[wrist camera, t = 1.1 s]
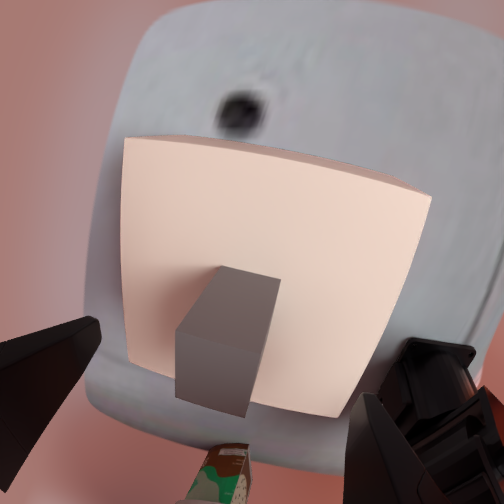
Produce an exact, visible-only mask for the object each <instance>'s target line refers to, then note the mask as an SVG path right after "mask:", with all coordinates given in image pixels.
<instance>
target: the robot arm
mask: <svg viewBox="0 0 504 504" xmlns="http://www.w3.org/2000/svg"><path fill="white" fill-rule="evenodd" d="M101 339H102V336H101V330H100V324H99V321H98V319H96V318H94V317H91V316H85V317H82V318H79V319H76V320H72V321H70V322H66V323H63V324H60V325H56V326H53V327H50V328H47V329H43V330H41V331H37V332H34V333H31V334H27V335H24V336H21V337H17V338H14V339H11V340H8V341H7V342H6V341H4V342H1V343H0V489H1V490H2V491H3V492H4V493H6V492H7V490H8V489H9V487H10V485H11V483H12V482H13V480H14V478H15V476H16V475H17V473H18V471H19V470H20V468H21V466H22V465H23V463H24V462H25V460H26V458H27V457H28V454H29V453H30V452H31V450H32V448H33V447H34V445H35V444H36V442H37V441H38V439H39V438H40V436H41V434H42V433H43V431H44V430H45V428H46V427H47V425H48V424H49V422H50V421H51V419H52V418H53V416H54V415H55V413H56V412H57V410H58V409H59V407H60V406H61V404H62V403H63V402H64V400H65V399H66V397H67V396H68V394H69V393H70V391H71V390H72V389H73V387H74V386H75V384H76V383H77V382H78V380H79V379H80V377H81V376H82V374H83V373H84V371H85V369H86V368H87V366H88V364H89V362H90V360H91V359H92V357H93V355H94V353H95V352H96V350H97V348H98V347H99V345H100V343H101ZM413 344H415V346H412V345H413ZM475 355H476V350H475V349H474V347H471V346H464V345H457V344H450V343H443V342H437V341H431V340H425V339H418V338H412V339H410V340H409V341H408V342H407V343H406V345H405V347H404V349H403V351H402V353H401V355H400V356H399V358H398V360H397V362H396V363H395V364H393V366H392V368H391V370H390V371H389V373H388V375H387V377H386V378H385V380H384V382H383V383H382V385H381V389H380V391H379V393H378V394H377V396H376V395H375V394H373V393H367V392H363V393H361V394H360V396H359V397H358V399H357V401H356V403H355V404H354V406H353V408H352V410H351V414H350V422H349V430H348V437H347V444H346V452H345V472H344V492H343V504H504V405H503V404H502V403H501V402H500V401H499V400H498V399H497V398H496V397H495V396H494V395H493V394H492V393H491V392H490V391H489V390H488V388H487V387H485V385H484V386H483V387H481V388H480V389H479V390H478V391H477V388H476V386H475V384H474V382H473V379H472V377H471V375H470V373H469V371H468V369H467V368H468V366H469V365H470V363H471V362H472V360H473V359H474V357H475ZM382 404H383V405H382Z"/></svg>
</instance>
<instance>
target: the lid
mask: <svg viewBox="0 0 504 504" xmlns="http://www.w3.org/2000/svg"><path fill="white" fill-rule="evenodd" d="M431 199H432V197H431V196H429V195H427V194H424V193H421V192H418V191H415V190H412V189H408V188H405V187H402V186H398V185H395V184H392V183H388V182H385V181H381V180H377V179H374V178H370V177H366V176H363V175H359V174H355V173H351V172H347V171H343V170H339V169H335V168H330V167H326V166H322V165H317V164H313V163H308V162H303V161H299V160H294V159H289V158H284V157H279V156H273V155H268V154H262V153H257V152H251V151H245V150H238V149H232V148H225V147H218V146H211V145H204V144H196V143H188V142H179V141H169V140H159V139H148V138H135V137H128V138H125V142H124V154H123V167H122V185H121V218H120V244H121V277H122V295H123V309H124V321H125V331H126V340H127V349H128V357H129V362H131V363H133V364H136V365H138V366H141V367H143V368H146V369H149V370H151V371H154V372H157V373H159V374H162V375H165V376H168V377H171V378H174V379H175V397H176V398H179V399H182V400H185V401H188V402H191V403H194V404H197V405H200V406H203V407H207V408H210V409H213V410H217V411H220V412H224V413H227V414H231V415H235V416H239V417H243V418H245V415H246V412H247V409H248V405H249V402H250V401H252V402H256V403H260V404H264V405H268V406H273V407H278V408H282V409H287V410H292V411H297V412H303V413H308V414H314V415H320V416H326V417H333V418H338V417H339V415H340V413H341V412H342V410H343V408H344V407H345V405H346V403H347V401H348V400H349V398H350V396H351V394H352V393H353V391H354V389H355V387H356V385H357V384H358V382H359V380H360V378H361V376H362V374H363V372H364V370H365V369H366V367H367V365H368V363H369V361H370V359H371V357H372V355H373V353H374V351H375V349H376V347H377V344H378V342H379V340H380V338H381V336H382V334H383V332H384V329H385V327H386V325H387V323H388V321H389V318H390V316H391V314H392V311H393V309H394V307H395V304H396V302H397V299H398V297H399V294H400V292H401V289H402V287H403V284H404V282H405V279H406V276H407V274H408V271H409V268H410V266H411V263H412V260H413V257H414V254H415V251H416V248H417V245H418V242H419V239H420V236H421V233H422V230H423V227H424V223H425V220H426V217H427V213H428V210H429V206H430V202H431Z"/></svg>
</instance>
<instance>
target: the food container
mask: <svg viewBox="0 0 504 504" xmlns="http://www.w3.org/2000/svg"><path fill="white" fill-rule="evenodd" d="M251 484H252V469H251V458H250V447H249V444H241V443H226V444H221V445H217V446H214V447H213V448H212V449H210V450H209V452H208V455H207V456H206V458H205V461H204V463H203V465H202V466H201V468H200V470H199V472H198V474H197V476H196V478H195V480H194V482H193V484H192V486H191V488H190V490H189V492H188V494H187V496H186V498H185V500H180V501H177V502H176V503H175V504H247V501H248V497H249V492H250V488H251Z"/></svg>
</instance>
